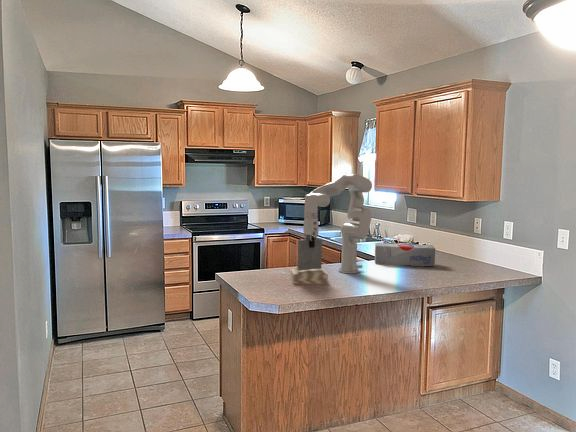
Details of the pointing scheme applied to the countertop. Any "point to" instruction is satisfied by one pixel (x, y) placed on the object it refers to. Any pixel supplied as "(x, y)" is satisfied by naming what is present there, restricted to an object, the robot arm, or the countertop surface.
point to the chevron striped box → (309, 276)
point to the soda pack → (404, 254)
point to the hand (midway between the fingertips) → (309, 246)
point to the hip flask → (309, 254)
